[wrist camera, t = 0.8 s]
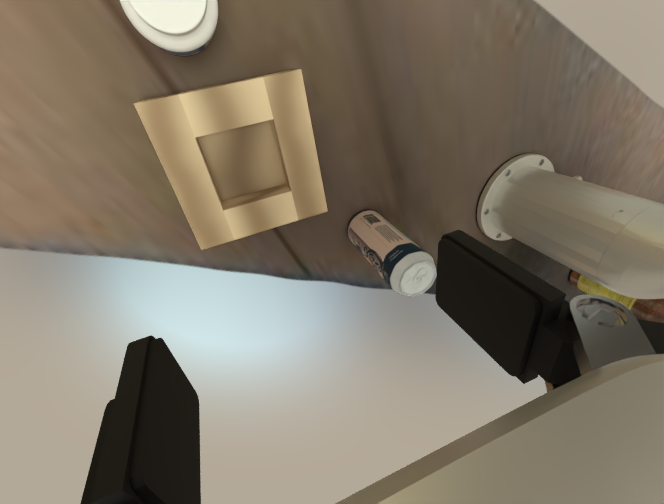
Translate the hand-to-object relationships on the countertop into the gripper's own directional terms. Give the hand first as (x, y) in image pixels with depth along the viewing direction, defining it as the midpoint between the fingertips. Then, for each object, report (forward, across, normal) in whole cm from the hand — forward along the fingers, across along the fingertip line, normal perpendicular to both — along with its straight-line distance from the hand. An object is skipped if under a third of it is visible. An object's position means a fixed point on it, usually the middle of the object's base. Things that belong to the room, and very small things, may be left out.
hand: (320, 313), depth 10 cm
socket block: (+24, 0, +1) cm, 24 cm away
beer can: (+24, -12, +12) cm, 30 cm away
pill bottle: (+25, +1, -11) cm, 27 cm away
